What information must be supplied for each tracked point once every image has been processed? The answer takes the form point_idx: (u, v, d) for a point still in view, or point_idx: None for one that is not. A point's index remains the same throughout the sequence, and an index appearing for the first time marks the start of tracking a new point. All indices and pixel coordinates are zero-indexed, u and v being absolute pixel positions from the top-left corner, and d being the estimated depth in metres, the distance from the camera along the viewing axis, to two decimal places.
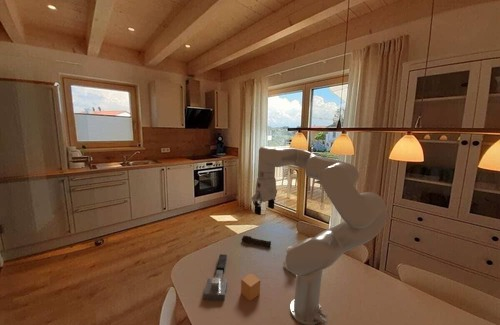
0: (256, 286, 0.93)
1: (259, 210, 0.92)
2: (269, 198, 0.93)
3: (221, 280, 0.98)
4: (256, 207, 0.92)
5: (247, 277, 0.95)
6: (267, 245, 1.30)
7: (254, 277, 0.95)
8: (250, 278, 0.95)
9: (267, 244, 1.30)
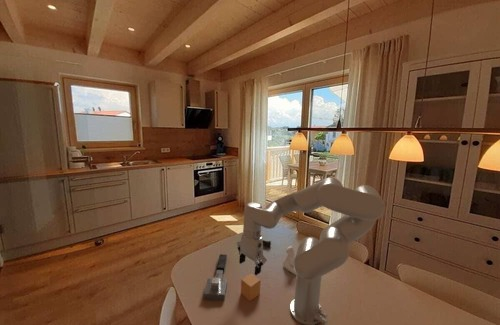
0: (256, 286, 0.93)
1: (260, 268, 0.90)
2: None
3: (221, 280, 0.98)
4: (259, 267, 0.89)
5: (247, 277, 0.95)
6: (267, 245, 1.30)
7: (254, 277, 0.95)
8: (250, 278, 0.95)
9: (267, 244, 1.30)
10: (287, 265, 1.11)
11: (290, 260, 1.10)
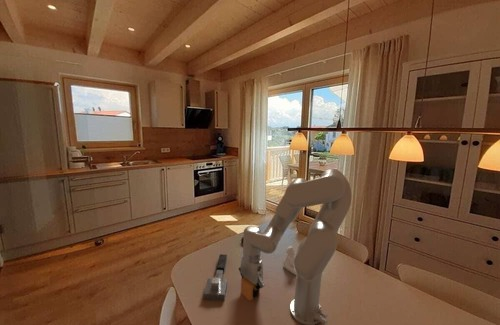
0: None
1: None
2: None
3: (221, 280, 0.98)
4: (257, 290, 0.91)
5: None
6: None
7: None
8: None
9: None
10: (287, 265, 1.11)
11: (290, 260, 1.10)
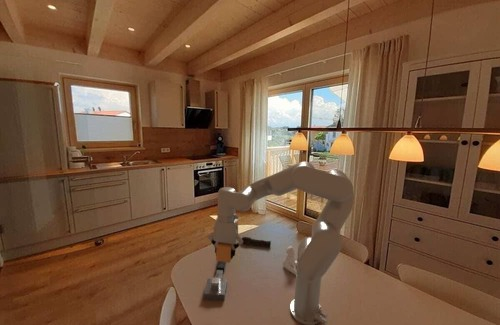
0: None
1: None
2: None
3: (221, 280, 0.98)
4: (234, 250, 0.91)
5: None
6: (267, 245, 1.30)
7: None
8: None
9: (267, 244, 1.30)
10: (287, 265, 1.11)
11: (290, 260, 1.10)
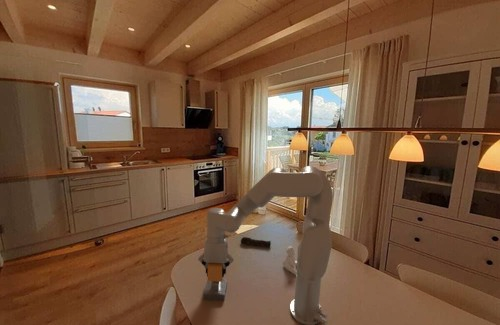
0: None
1: None
2: None
3: None
4: (225, 268, 0.93)
5: None
6: (267, 245, 1.30)
7: None
8: None
9: (267, 244, 1.30)
10: (287, 265, 1.11)
11: (290, 260, 1.10)
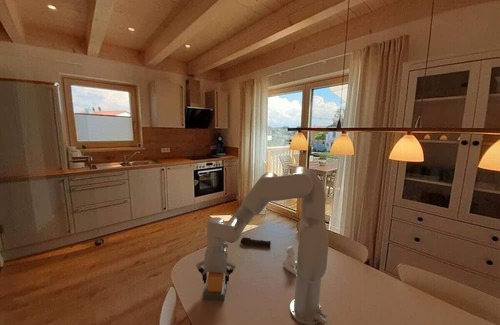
0: (223, 274, 0.95)
1: None
2: None
3: None
4: (228, 275, 0.94)
5: (211, 272, 0.93)
6: (267, 245, 1.30)
7: None
8: None
9: (267, 244, 1.30)
10: (287, 265, 1.11)
11: (290, 260, 1.10)
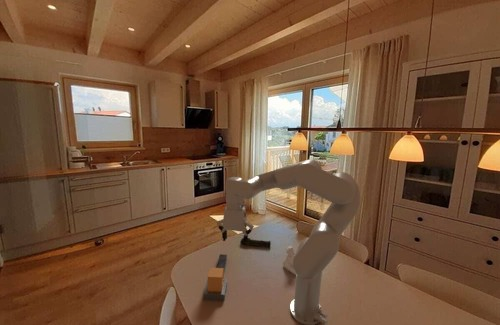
0: (223, 274, 0.95)
1: None
2: None
3: None
4: (247, 235, 0.94)
5: (211, 272, 0.93)
6: (267, 245, 1.30)
7: (217, 269, 0.96)
8: (215, 271, 0.94)
9: (267, 244, 1.30)
10: (287, 265, 1.11)
11: (290, 260, 1.10)
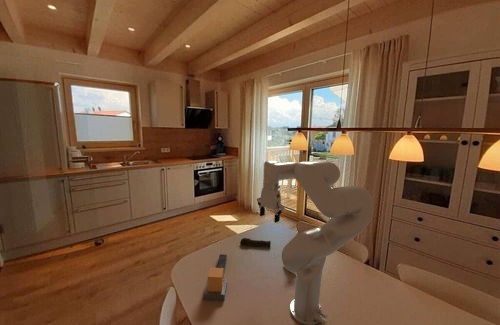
0: (223, 274, 0.95)
1: None
2: None
3: None
4: (278, 216, 1.02)
5: (211, 272, 0.93)
6: (267, 245, 1.30)
7: (217, 269, 0.96)
8: (215, 271, 0.94)
9: (267, 244, 1.30)
10: None
11: None
